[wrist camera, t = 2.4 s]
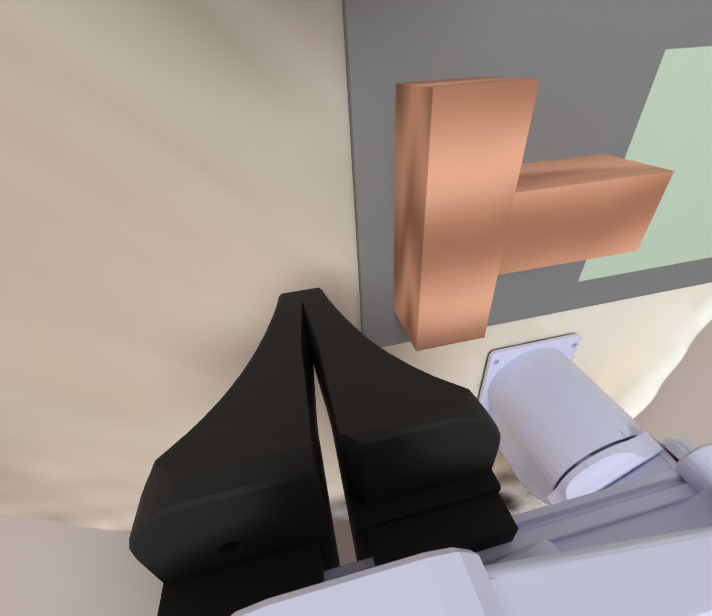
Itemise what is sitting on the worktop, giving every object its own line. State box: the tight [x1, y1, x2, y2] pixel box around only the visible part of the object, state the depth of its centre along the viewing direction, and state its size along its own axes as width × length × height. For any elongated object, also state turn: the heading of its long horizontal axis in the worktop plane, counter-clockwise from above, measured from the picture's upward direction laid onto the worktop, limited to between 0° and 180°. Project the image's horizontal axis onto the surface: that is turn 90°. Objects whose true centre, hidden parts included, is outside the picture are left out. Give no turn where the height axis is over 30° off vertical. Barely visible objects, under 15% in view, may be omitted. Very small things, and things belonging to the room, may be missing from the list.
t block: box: [394, 77, 674, 351], centre depth 17 cm, size 12×12×4 cm
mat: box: [343, 0, 712, 347], centre depth 20 cm, size 18×30×1 cm, turn 93°
